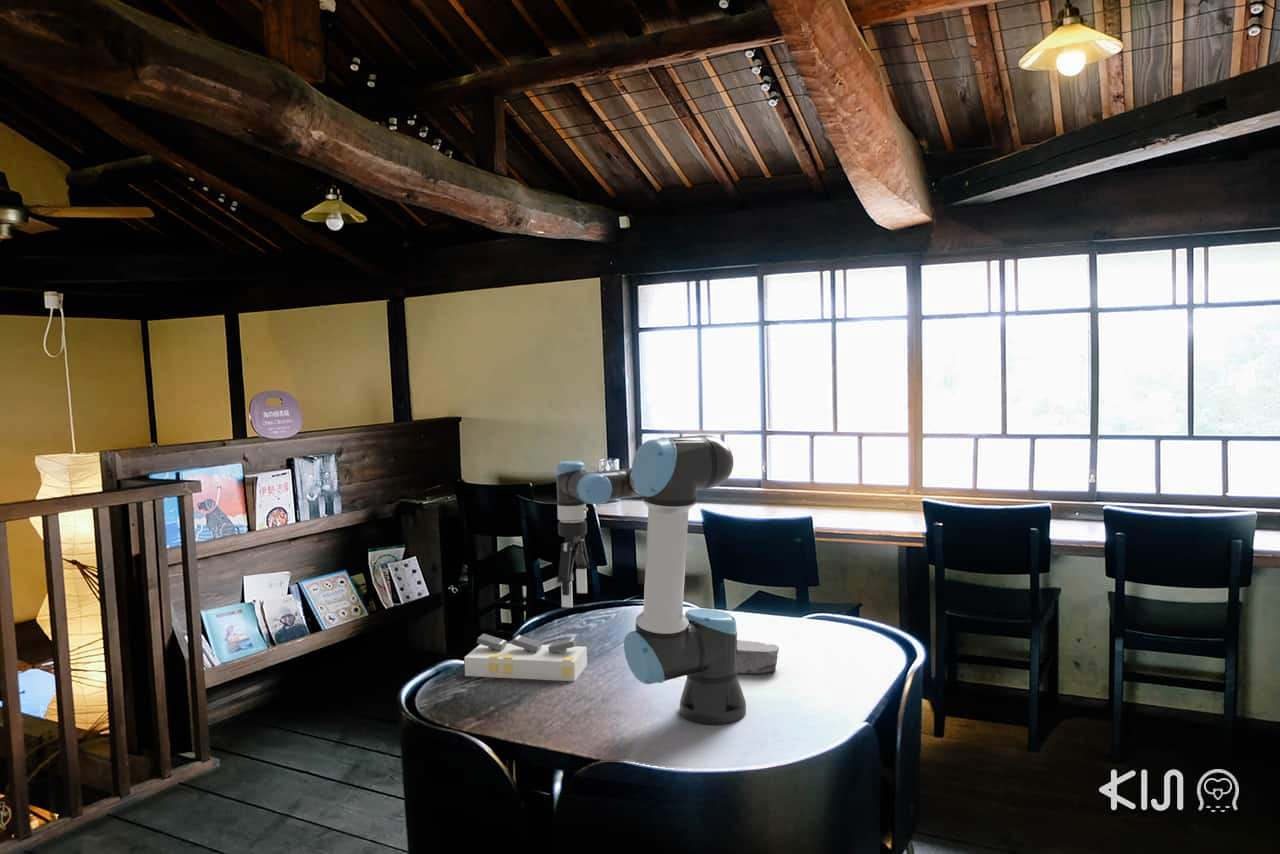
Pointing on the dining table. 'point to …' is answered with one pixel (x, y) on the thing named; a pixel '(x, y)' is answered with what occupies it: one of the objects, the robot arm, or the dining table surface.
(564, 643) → the rocker near
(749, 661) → the decorative stone
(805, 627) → the dining table surface
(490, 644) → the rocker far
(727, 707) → the robot arm
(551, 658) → the switch console
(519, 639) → the rocker middle
